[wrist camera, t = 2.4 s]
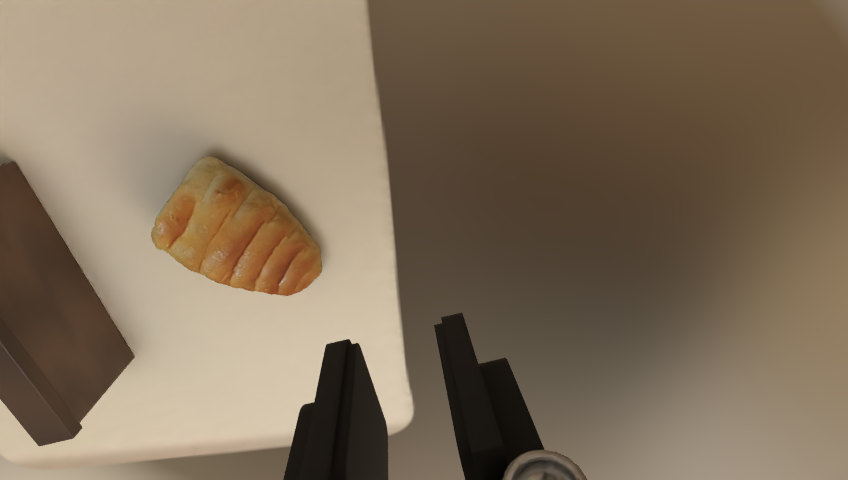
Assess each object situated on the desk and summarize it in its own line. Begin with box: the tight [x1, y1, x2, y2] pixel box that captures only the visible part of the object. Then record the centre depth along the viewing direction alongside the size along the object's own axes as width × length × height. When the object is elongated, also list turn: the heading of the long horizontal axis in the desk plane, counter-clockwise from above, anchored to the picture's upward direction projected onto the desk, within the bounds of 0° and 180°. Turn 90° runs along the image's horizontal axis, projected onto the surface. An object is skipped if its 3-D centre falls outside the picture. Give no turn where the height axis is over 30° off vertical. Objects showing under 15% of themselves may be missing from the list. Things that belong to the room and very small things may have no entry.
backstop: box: [0, 162, 134, 446], centre depth 24 cm, size 14×5×7 cm, turn 12°
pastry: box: [151, 156, 322, 296], centre depth 25 cm, size 9×7×4 cm
